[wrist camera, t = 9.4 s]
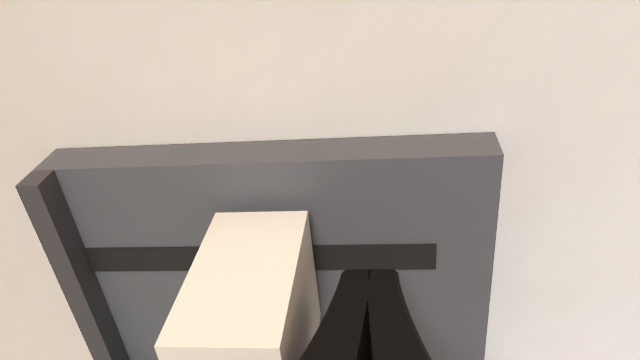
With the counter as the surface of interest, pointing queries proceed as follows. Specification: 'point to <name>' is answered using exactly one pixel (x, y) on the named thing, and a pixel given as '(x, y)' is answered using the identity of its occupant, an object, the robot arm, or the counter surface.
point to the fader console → (267, 196)
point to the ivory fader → (246, 292)
